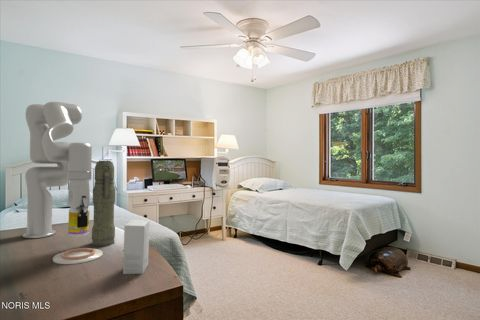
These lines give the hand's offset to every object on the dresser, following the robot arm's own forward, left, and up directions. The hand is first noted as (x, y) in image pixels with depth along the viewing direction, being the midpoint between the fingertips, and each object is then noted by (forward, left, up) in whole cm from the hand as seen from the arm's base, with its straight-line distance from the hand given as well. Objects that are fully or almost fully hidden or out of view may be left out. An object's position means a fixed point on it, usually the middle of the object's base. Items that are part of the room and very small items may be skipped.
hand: (79, 224), depth 109 cm
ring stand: (0, 0, -12) cm, 12 cm away
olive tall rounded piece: (-12, +13, -12) cm, 21 cm away
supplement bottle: (0, 0, -4) cm, 4 cm away
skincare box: (+26, +10, -12) cm, 30 cm away
